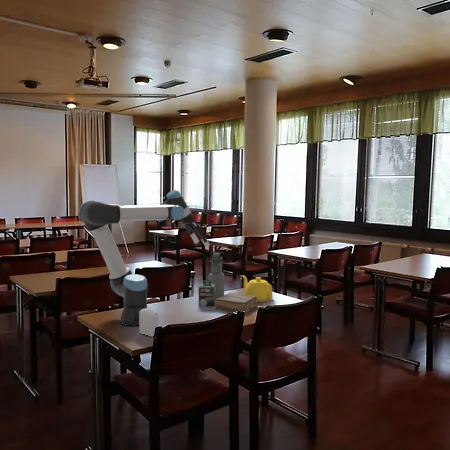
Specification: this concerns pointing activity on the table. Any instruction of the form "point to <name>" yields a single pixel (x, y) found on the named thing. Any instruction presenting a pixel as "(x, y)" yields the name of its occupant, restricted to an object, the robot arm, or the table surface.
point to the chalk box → (207, 294)
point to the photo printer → (148, 321)
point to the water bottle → (217, 274)
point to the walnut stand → (235, 302)
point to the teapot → (258, 289)
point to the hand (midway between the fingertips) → (202, 244)
